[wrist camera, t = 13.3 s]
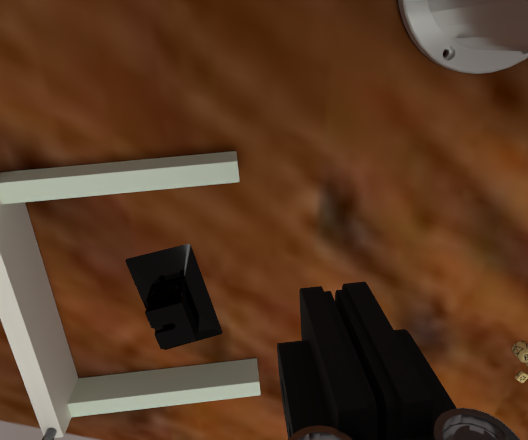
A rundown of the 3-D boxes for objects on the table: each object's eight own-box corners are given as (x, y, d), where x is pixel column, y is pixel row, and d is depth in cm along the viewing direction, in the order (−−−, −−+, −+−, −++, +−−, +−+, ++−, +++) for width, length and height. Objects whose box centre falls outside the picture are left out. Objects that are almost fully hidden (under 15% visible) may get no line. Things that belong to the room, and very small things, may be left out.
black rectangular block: (110, 242, 35) (95, 269, 31) (197, 219, 35) (193, 243, 31) (162, 360, 40) (154, 397, 36) (238, 340, 40) (240, 375, 36)
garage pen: (236, 150, 33) (242, 214, 21) (258, 371, 41) (271, 508, 29) (-6, 172, 32) (-146, 252, 20) (65, 393, 40) (-4, 544, 28)
